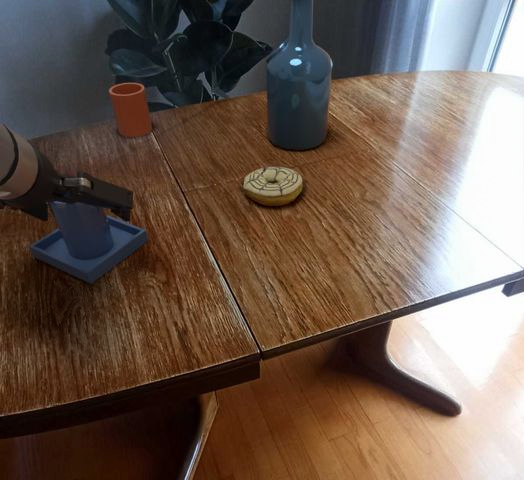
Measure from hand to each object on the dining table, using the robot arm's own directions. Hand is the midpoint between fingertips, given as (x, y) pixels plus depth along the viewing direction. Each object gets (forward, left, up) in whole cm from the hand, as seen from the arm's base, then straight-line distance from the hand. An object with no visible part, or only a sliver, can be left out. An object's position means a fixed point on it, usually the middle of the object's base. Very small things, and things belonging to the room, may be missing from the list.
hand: (86, 212), depth 74 cm
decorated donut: (+18, +28, -5) cm, 34 cm away
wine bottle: (+10, +51, -5) cm, 52 cm away
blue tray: (+1, -2, -5) cm, 6 cm away
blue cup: (+1, -2, -5) cm, 5 cm away
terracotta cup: (-22, +34, -5) cm, 41 cm away
